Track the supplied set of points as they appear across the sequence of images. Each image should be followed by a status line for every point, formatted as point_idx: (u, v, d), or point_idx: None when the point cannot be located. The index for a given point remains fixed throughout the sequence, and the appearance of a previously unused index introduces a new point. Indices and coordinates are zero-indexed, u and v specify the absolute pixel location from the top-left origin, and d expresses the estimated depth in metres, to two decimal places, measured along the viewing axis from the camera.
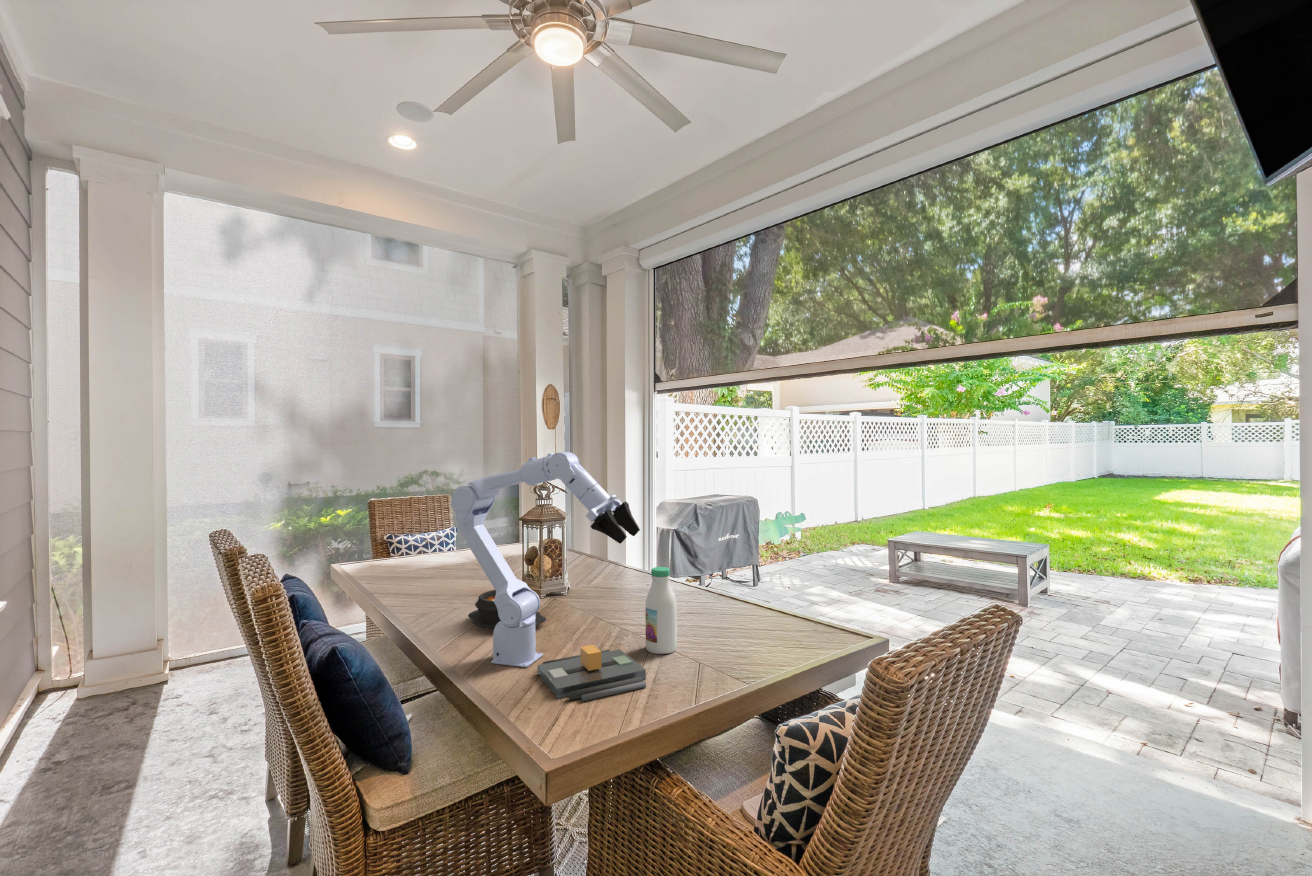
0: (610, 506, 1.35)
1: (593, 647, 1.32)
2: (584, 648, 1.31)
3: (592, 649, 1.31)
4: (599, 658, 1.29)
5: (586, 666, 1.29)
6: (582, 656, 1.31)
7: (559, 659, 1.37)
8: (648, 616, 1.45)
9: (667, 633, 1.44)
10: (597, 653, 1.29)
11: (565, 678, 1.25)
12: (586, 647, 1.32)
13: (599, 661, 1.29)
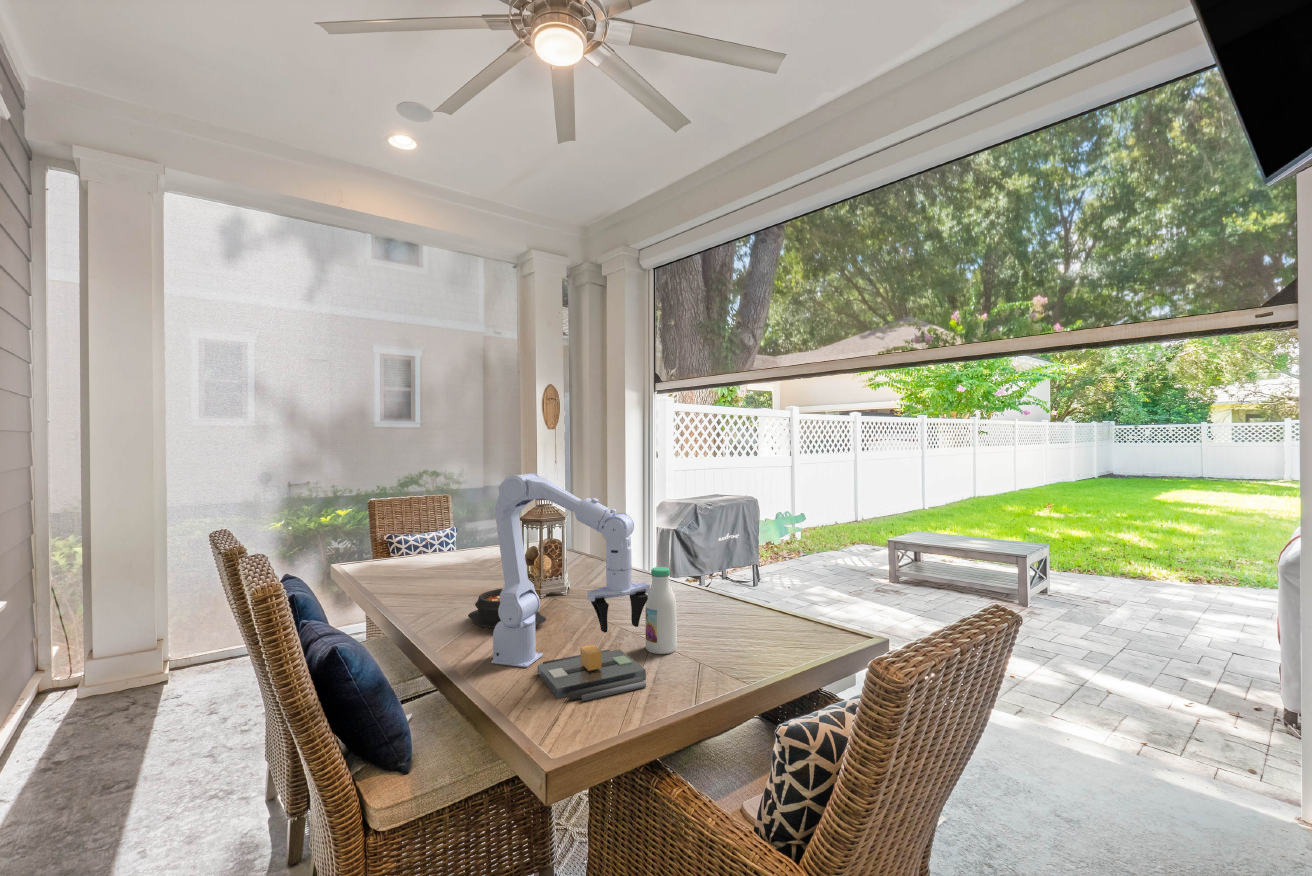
0: None
1: (593, 647, 1.32)
2: (584, 648, 1.31)
3: (592, 649, 1.31)
4: (599, 658, 1.29)
5: (586, 666, 1.29)
6: (582, 656, 1.31)
7: (559, 659, 1.37)
8: (648, 616, 1.45)
9: (667, 633, 1.44)
10: (597, 653, 1.29)
11: (565, 678, 1.25)
12: (586, 647, 1.32)
13: (599, 661, 1.29)
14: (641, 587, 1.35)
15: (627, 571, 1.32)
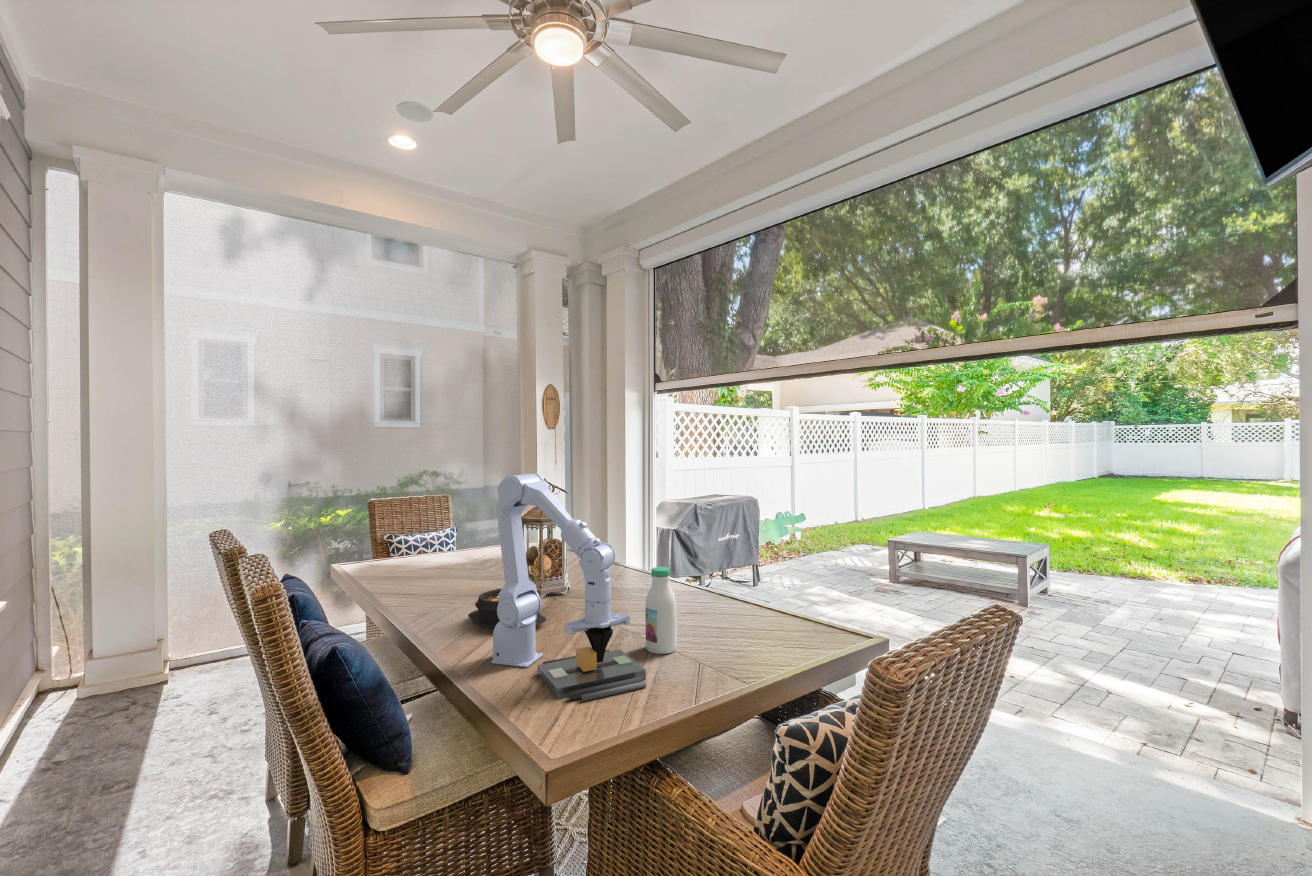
0: None
1: (588, 648, 1.31)
2: (579, 649, 1.31)
3: (587, 650, 1.30)
4: (594, 659, 1.29)
5: (581, 667, 1.29)
6: (577, 657, 1.31)
7: (559, 659, 1.37)
8: (648, 616, 1.45)
9: (667, 633, 1.44)
10: (593, 654, 1.29)
11: (565, 678, 1.25)
12: (581, 648, 1.32)
13: (594, 662, 1.29)
14: (621, 619, 1.33)
15: (606, 603, 1.30)
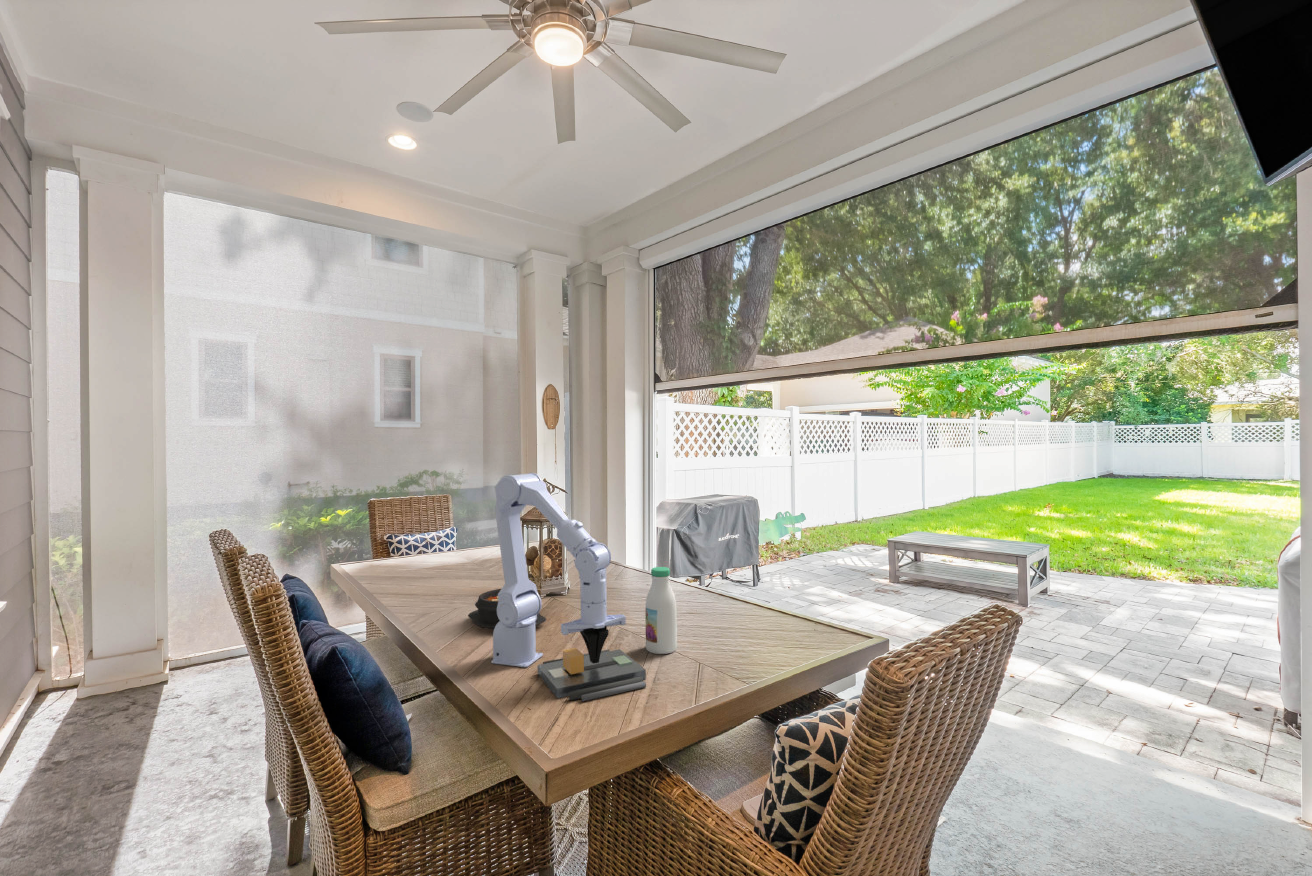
0: None
1: (576, 650, 1.30)
2: (566, 651, 1.30)
3: (574, 652, 1.29)
4: (581, 661, 1.27)
5: (568, 670, 1.27)
6: (564, 660, 1.30)
7: (559, 659, 1.37)
8: (648, 616, 1.45)
9: (667, 633, 1.44)
10: (580, 657, 1.27)
11: (565, 678, 1.25)
12: (569, 650, 1.30)
13: (581, 665, 1.27)
14: (616, 619, 1.32)
15: (601, 604, 1.29)
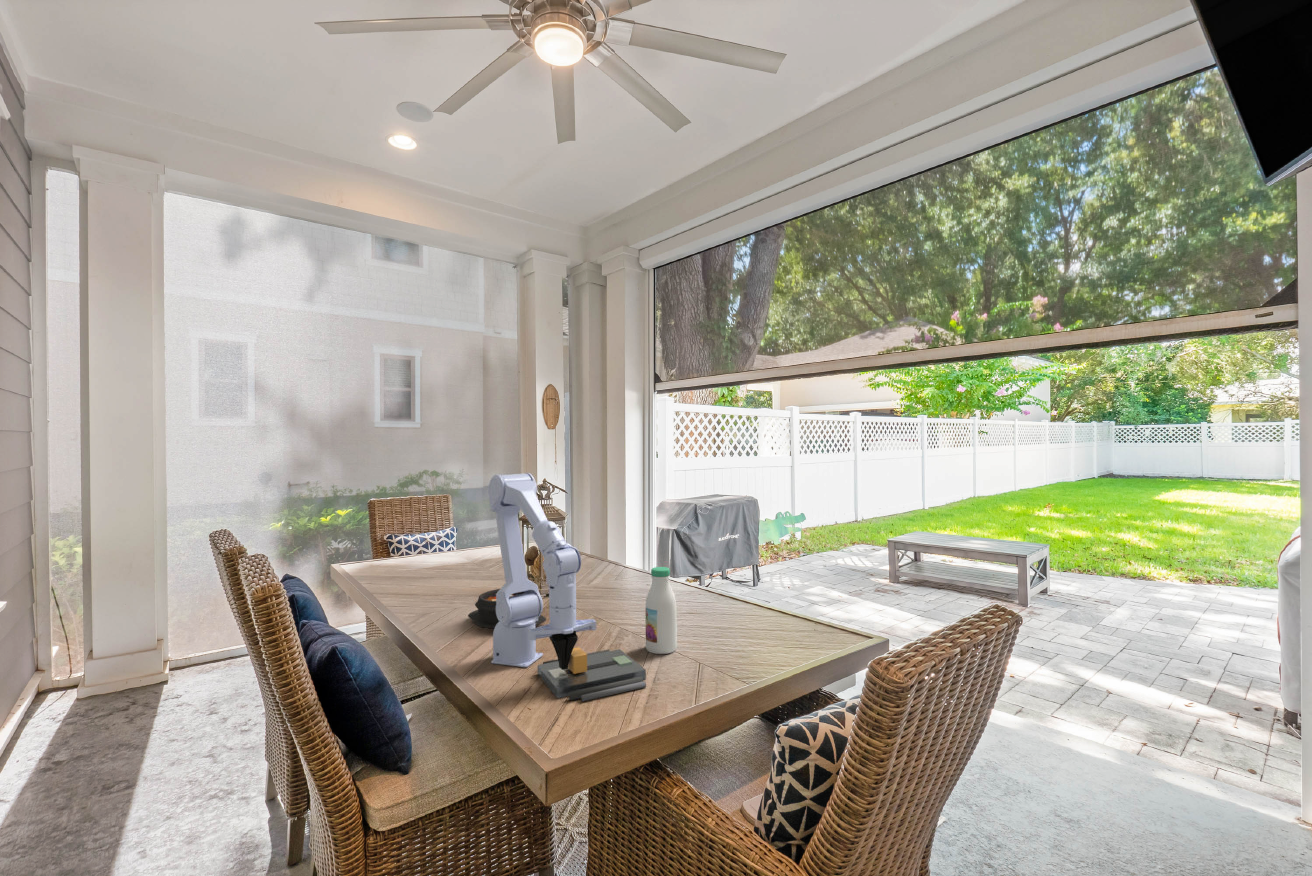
0: None
1: (579, 650, 1.30)
2: None
3: (578, 652, 1.29)
4: (585, 661, 1.28)
5: (571, 669, 1.28)
6: None
7: None
8: (648, 616, 1.45)
9: (667, 633, 1.44)
10: (583, 656, 1.28)
11: (565, 678, 1.25)
12: (572, 650, 1.30)
13: (585, 664, 1.28)
14: (586, 624, 1.29)
15: (570, 608, 1.26)
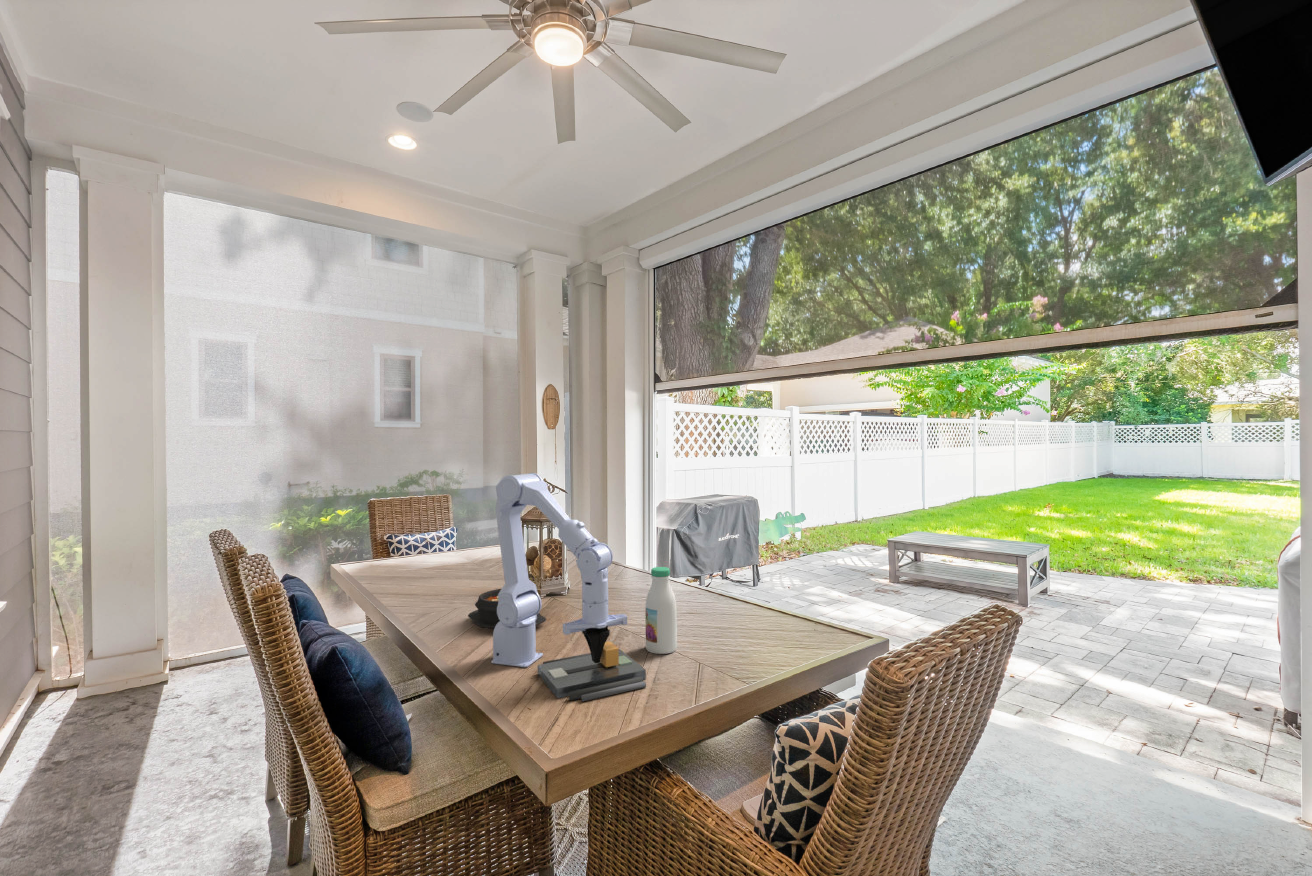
0: None
1: (610, 644, 1.34)
2: None
3: (609, 646, 1.33)
4: (616, 655, 1.31)
5: (603, 662, 1.31)
6: None
7: (559, 659, 1.37)
8: (648, 616, 1.45)
9: (667, 633, 1.44)
10: (615, 650, 1.31)
11: (565, 678, 1.25)
12: None
13: (616, 658, 1.31)
14: (618, 619, 1.32)
15: (603, 603, 1.29)
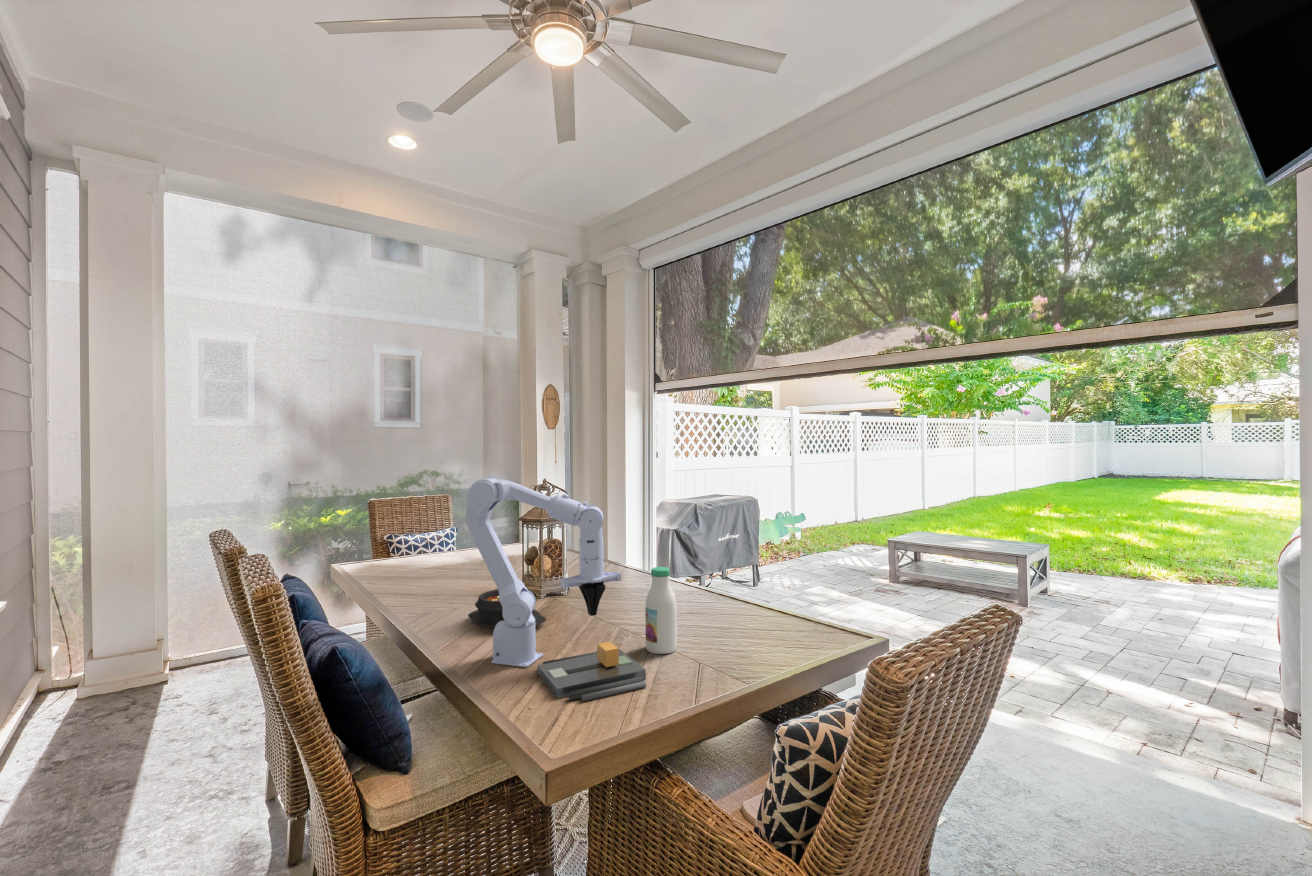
0: None
1: (610, 644, 1.34)
2: (601, 645, 1.33)
3: (609, 646, 1.33)
4: (616, 655, 1.31)
5: (603, 662, 1.31)
6: (599, 653, 1.33)
7: (559, 659, 1.37)
8: (648, 616, 1.45)
9: (667, 633, 1.44)
10: (615, 650, 1.31)
11: (565, 678, 1.25)
12: (603, 644, 1.34)
13: (616, 658, 1.31)
14: (613, 575, 1.42)
15: (599, 560, 1.40)
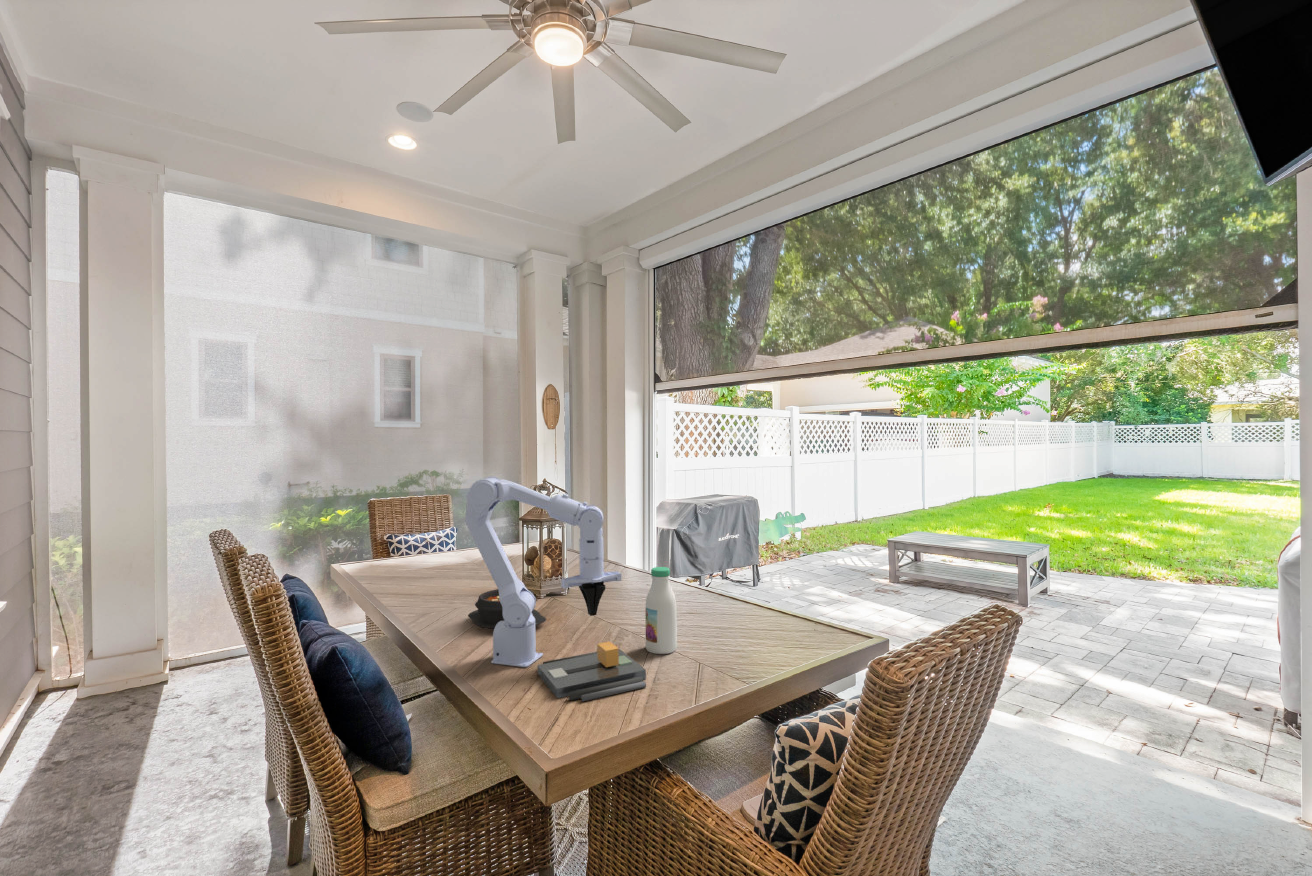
0: None
1: (610, 644, 1.34)
2: (601, 645, 1.33)
3: (609, 646, 1.33)
4: (616, 655, 1.31)
5: (603, 662, 1.31)
6: (599, 653, 1.33)
7: (559, 659, 1.37)
8: (648, 616, 1.45)
9: (667, 633, 1.44)
10: (615, 650, 1.31)
11: (565, 678, 1.25)
12: (603, 644, 1.34)
13: (616, 658, 1.31)
14: (613, 575, 1.42)
15: (599, 560, 1.40)
